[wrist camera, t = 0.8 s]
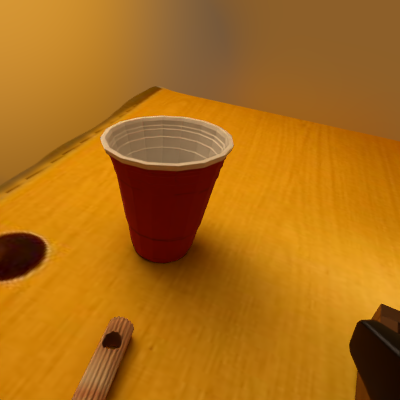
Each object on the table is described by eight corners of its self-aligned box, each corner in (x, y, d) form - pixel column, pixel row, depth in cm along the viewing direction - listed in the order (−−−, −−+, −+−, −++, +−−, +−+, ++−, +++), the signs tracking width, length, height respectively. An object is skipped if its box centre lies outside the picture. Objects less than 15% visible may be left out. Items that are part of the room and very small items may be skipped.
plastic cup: (154, 199, 41) (160, 100, 34) (232, 239, 36) (256, 135, 30) (80, 244, 33) (69, 128, 26) (168, 303, 29) (181, 181, 22)
